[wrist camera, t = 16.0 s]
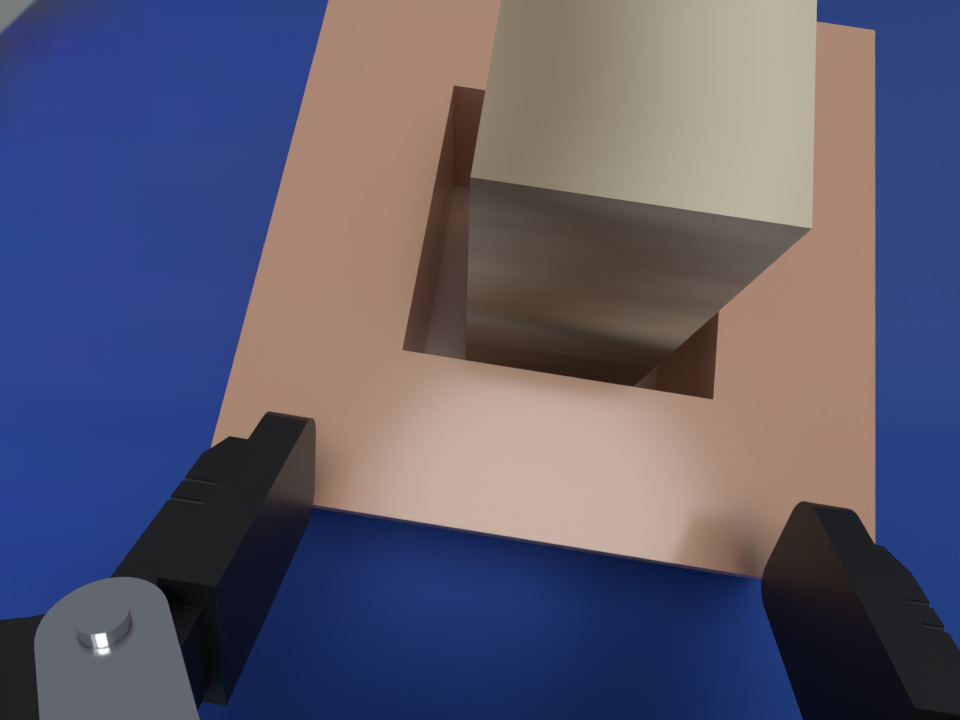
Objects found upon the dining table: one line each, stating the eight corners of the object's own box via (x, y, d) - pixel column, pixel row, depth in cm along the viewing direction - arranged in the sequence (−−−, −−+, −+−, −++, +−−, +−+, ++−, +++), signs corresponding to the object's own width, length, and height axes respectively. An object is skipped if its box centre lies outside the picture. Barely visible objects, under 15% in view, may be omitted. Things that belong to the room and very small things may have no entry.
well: (771, 157, 21) (874, 30, 16) (752, 579, 18) (875, 596, 13) (371, 95, 22) (342, -51, 16) (276, 502, 18) (201, 486, 13)
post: (639, 246, 19) (818, -47, 10) (624, 394, 18) (811, 227, 8) (488, 224, 19) (516, -91, 10) (464, 369, 18) (470, 177, 9)
